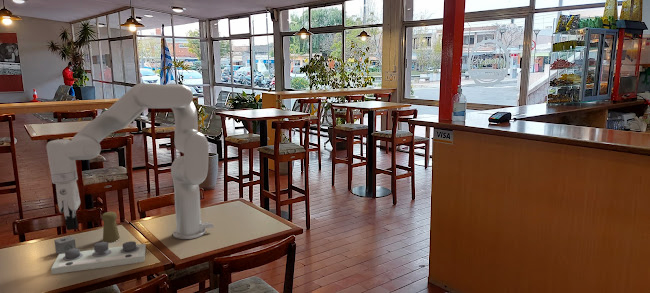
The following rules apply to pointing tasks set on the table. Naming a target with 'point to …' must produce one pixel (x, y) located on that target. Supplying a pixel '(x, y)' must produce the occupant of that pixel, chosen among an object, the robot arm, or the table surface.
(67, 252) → the button
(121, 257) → the button board
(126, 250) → the button
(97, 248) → the middle button
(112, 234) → the cork
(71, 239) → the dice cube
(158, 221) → the table surface
